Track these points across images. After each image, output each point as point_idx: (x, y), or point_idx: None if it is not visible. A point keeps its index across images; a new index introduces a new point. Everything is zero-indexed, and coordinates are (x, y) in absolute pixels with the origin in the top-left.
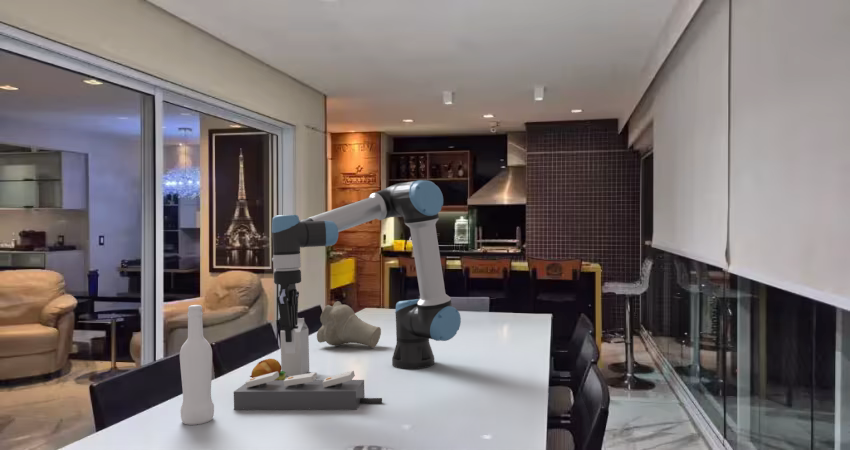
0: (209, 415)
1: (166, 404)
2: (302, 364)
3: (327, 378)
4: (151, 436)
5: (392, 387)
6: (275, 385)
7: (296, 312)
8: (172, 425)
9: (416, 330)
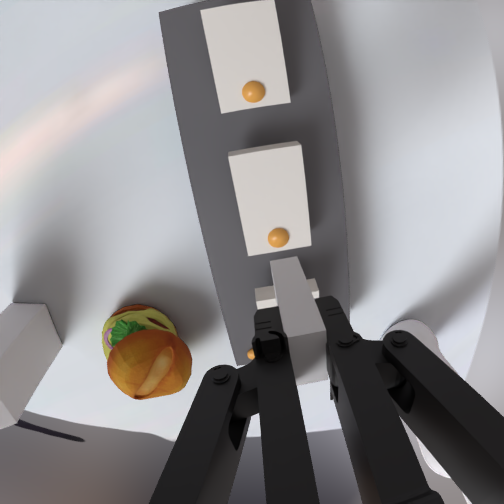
0: (418, 323)
1: None
2: (25, 318)
3: (251, 97)
4: (459, 349)
5: (72, 11)
6: None
7: (213, 454)
8: None
9: None
